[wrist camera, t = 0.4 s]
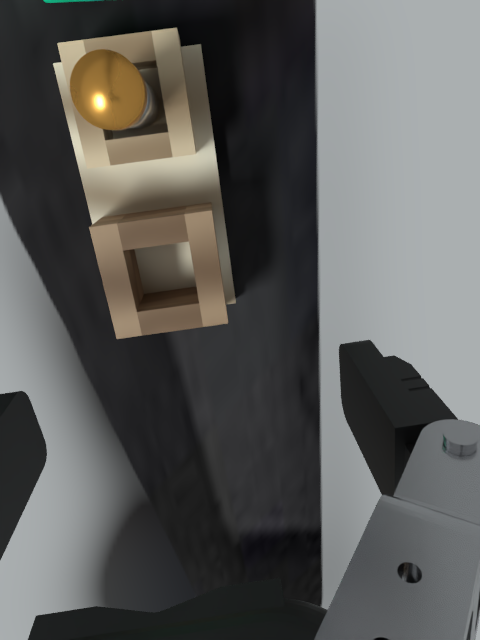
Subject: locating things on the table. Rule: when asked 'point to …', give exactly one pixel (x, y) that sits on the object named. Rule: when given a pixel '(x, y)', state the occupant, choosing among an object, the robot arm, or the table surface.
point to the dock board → (155, 192)
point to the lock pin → (112, 92)
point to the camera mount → (54, 0)
